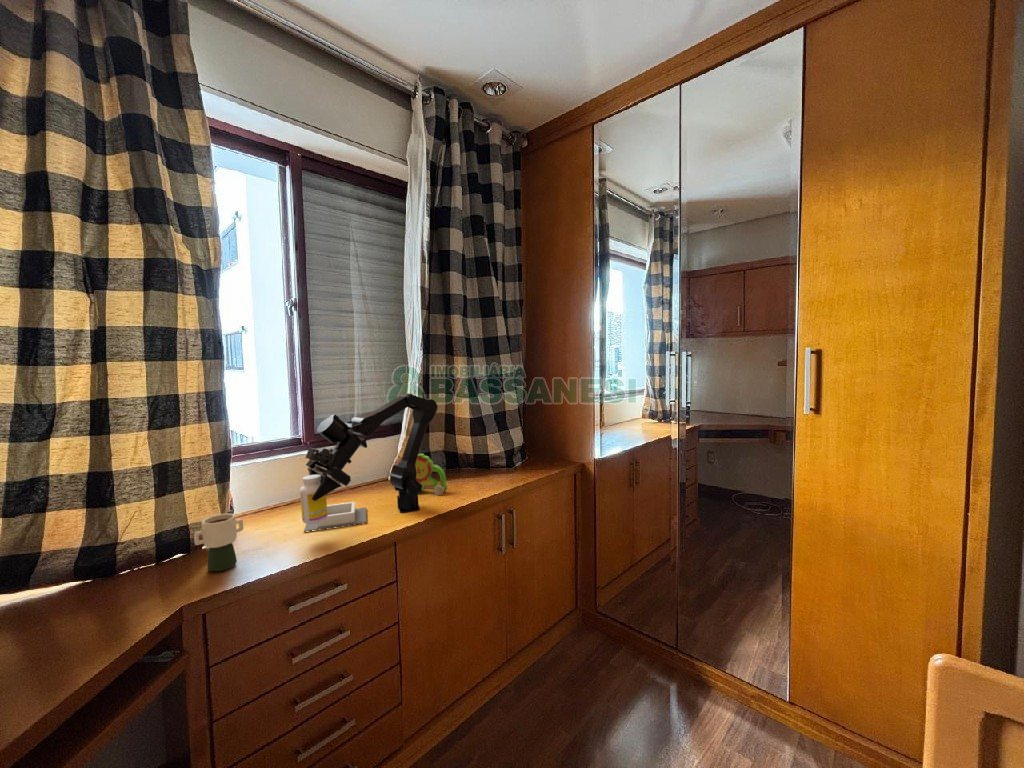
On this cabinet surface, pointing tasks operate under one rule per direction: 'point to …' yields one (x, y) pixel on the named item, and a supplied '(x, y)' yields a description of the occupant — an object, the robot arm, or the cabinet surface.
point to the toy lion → (429, 475)
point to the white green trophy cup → (219, 540)
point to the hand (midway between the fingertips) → (308, 497)
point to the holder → (340, 517)
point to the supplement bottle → (312, 501)
